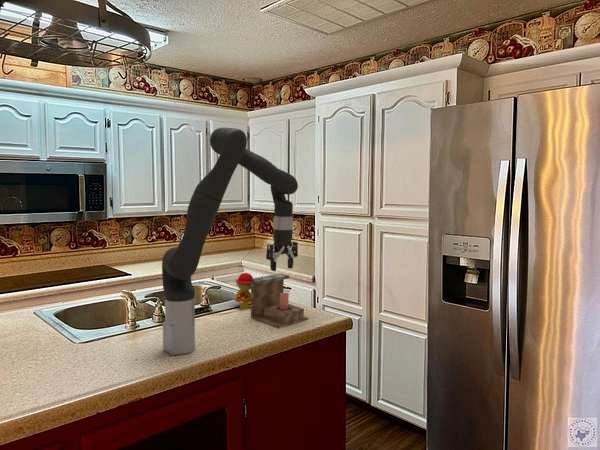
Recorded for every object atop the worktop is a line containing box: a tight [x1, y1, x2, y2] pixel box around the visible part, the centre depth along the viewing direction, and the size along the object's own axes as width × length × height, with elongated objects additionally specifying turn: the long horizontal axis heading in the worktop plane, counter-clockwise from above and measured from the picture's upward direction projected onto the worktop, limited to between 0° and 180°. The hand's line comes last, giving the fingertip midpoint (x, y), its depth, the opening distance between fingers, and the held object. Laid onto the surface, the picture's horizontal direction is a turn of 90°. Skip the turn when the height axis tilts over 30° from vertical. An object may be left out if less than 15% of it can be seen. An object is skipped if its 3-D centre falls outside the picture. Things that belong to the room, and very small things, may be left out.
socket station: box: [250, 273, 309, 329], centre depth 176 cm, size 16×16×16 cm
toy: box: [234, 272, 254, 310], centre depth 191 cm, size 11×9×15 cm
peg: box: [279, 291, 290, 311], centre depth 174 cm, size 4×4×10 cm
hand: (282, 269), depth 172 cm, fingers open, 8 cm apart
